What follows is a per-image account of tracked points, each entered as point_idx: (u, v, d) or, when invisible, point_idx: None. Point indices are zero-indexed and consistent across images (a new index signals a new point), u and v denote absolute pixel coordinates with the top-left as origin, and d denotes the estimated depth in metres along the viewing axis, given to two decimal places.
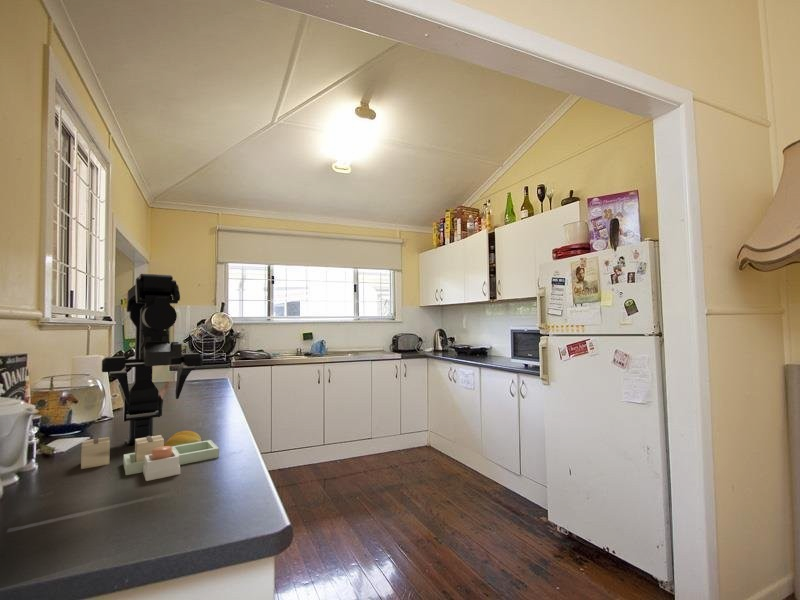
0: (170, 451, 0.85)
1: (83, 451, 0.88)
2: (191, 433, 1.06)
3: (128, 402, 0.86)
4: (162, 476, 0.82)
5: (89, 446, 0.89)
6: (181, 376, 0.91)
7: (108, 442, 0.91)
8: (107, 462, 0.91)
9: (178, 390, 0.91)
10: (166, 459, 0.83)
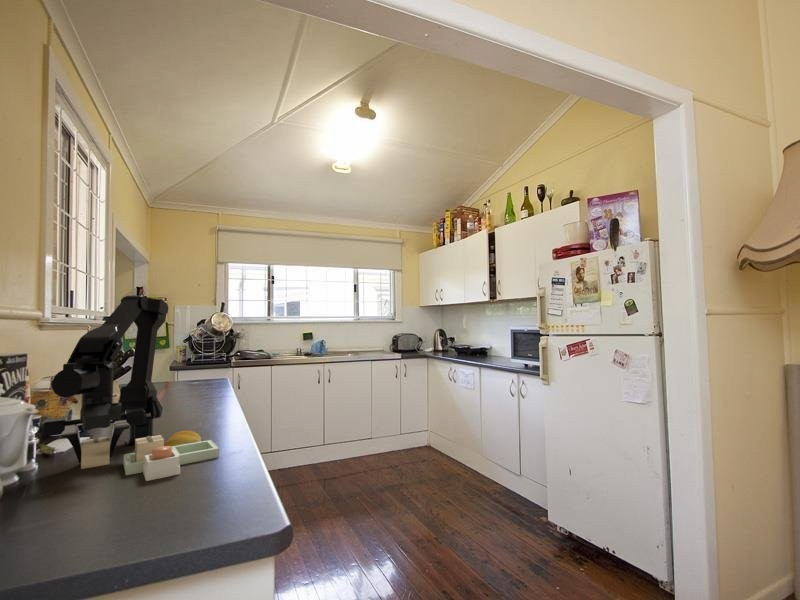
0: (170, 451, 0.85)
1: (83, 451, 0.88)
2: (191, 433, 1.06)
3: (80, 461, 0.89)
4: (162, 476, 0.82)
5: (89, 445, 0.89)
6: (114, 435, 0.92)
7: (108, 442, 0.91)
8: (107, 462, 0.91)
9: (111, 449, 0.92)
10: (166, 459, 0.83)
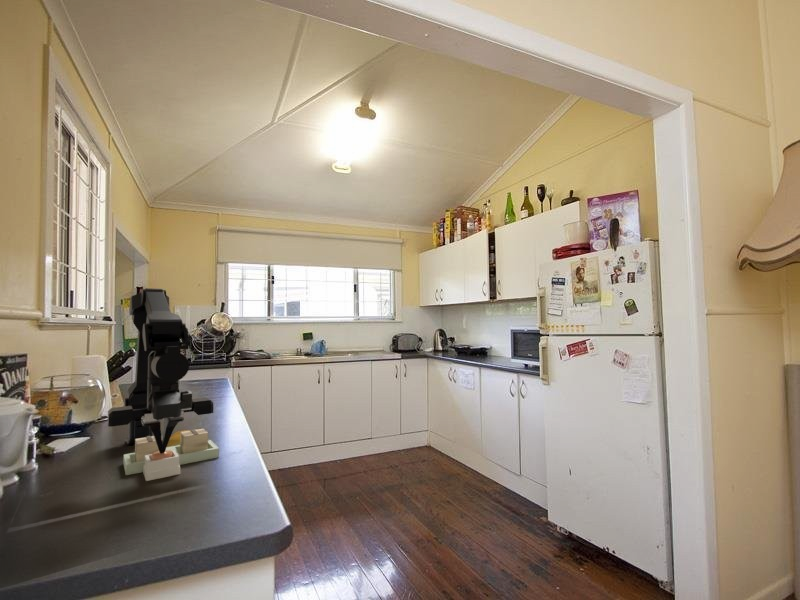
0: (170, 455, 0.85)
1: (185, 441, 0.92)
2: None
3: (161, 451, 0.84)
4: (162, 476, 0.82)
5: (191, 436, 0.93)
6: (167, 428, 0.84)
7: (206, 433, 0.95)
8: None
9: (164, 443, 0.84)
10: (166, 459, 0.83)
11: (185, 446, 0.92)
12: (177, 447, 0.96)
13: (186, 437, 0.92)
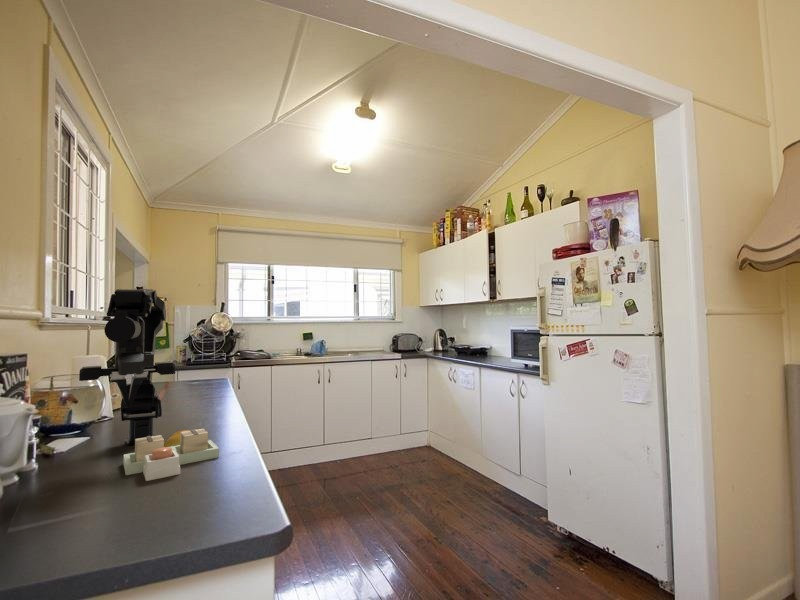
0: (170, 452, 0.85)
1: (185, 441, 0.92)
2: None
3: (127, 405, 0.96)
4: (162, 476, 0.82)
5: (191, 436, 0.93)
6: (133, 385, 0.96)
7: (206, 433, 0.95)
8: None
9: (130, 399, 0.96)
10: (166, 459, 0.83)
11: (185, 446, 0.92)
12: (177, 447, 0.96)
13: (186, 437, 0.92)
